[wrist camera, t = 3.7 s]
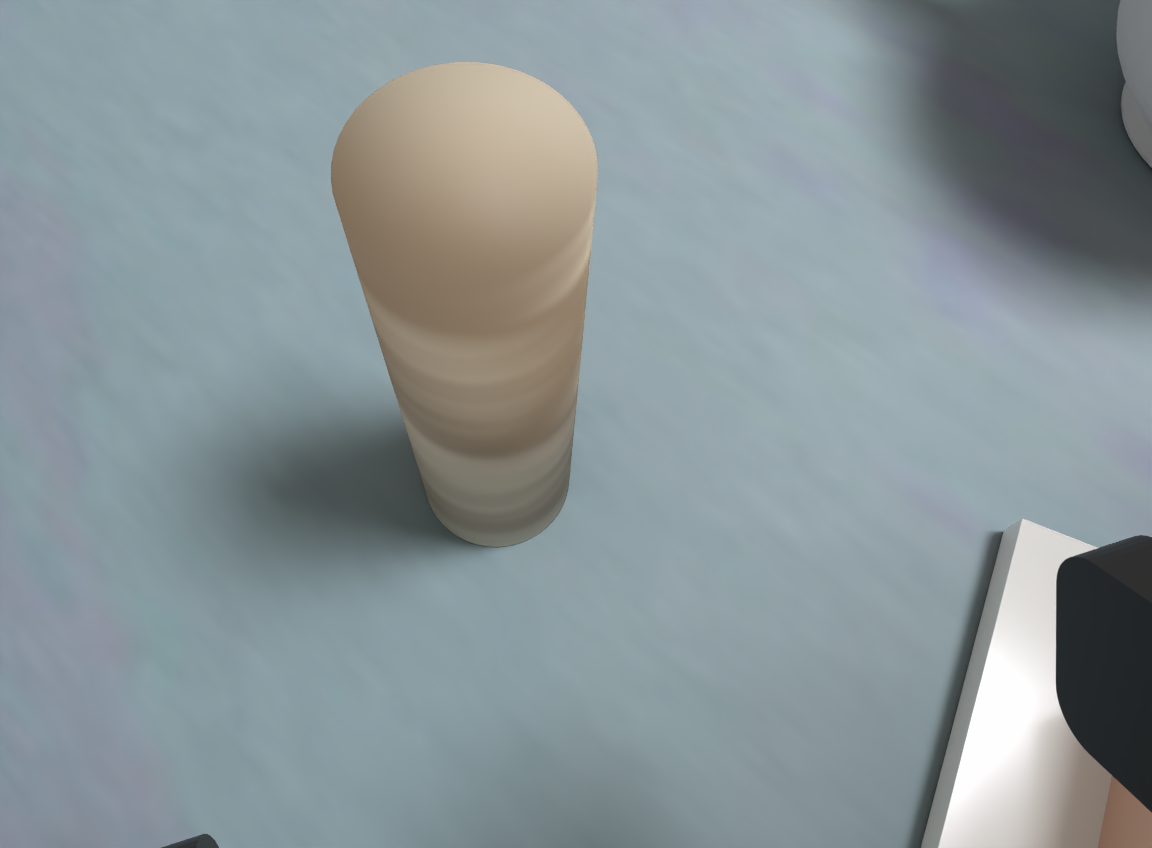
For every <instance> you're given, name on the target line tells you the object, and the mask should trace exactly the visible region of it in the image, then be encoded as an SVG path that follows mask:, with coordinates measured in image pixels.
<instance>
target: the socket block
mask: <svg viewBox="0 0 1152 848" xmlns="http://www.w3.org/2000/svg"><path fill="white" fill-rule="evenodd" d="M1094 549H1097V547H1095V546H1092V545H1089V544H1087V543H1084V542H1082V541H1079V540H1077V539H1074V538H1071V537H1069V536H1066V535H1064V534H1061V533H1059V532H1056V531H1054V530H1051V529H1048V528H1046V527H1043V526H1041V525H1038V524H1036V523H1033V522H1030V521H1028V520H1025V519H1023V518H1022V519H1021V520H1019V521H1018V522H1016V523H1015V524H1013V525H1012V526H1010V527H1009V528H1007V529H1006V530H1004V532H1003V536H1002V540H1001V543H1000V547H999V551H998V555H997V559H996V563H995V566H994V570H993V574H992V578H991V582H990V585H989V589H988V593H987V597H986V601H985V605H984V608H983V612H982V616H981V620H980V624H979V627H978V631H977V635H976V639H975V643H974V647H973V650H972V654H971V658H970V662H969V666H968V670H967V673H966V677H965V681H964V685H963V689H962V692H961V696H960V700H959V704H958V708H957V712H956V715H955V719H954V723H953V727H952V731H951V734H950V738H949V742H948V746H947V750H946V754H945V757H944V761H943V765H942V769H941V773H940V777H939V780H938V784H937V788H936V792H935V796H934V799H933V803H932V807H931V811H930V815H929V819H928V822H927V826H926V830H925V834H924V838H923V841H922V845H921V848H1152V812H1150V811H1149V810H1148V809H1147V808H1146V807H1145V806H1144V805H1143V804H1142V803H1141V802H1140V801H1139V800H1138V799H1137V798H1136V797H1134V796H1133V795H1132V794H1131V793H1130V792H1129V791H1128V790H1127V789H1126V788H1125V787H1124V786H1123V785H1122V784H1121V783H1120V782H1118V781H1117V780H1116V779H1115V778H1114V777H1113V776H1112V775H1111V774H1110V773H1109V772H1108V771H1107V770H1106V769H1105V768H1103V767H1102V766H1101V765H1100V764H1099V763H1098V762H1097V761H1096V760H1095V759H1094V758H1093V757H1092V756H1091V755H1090V754H1089V753H1088V752H1087V751H1086V750H1085V749H1084V748H1083V747H1082V746H1081V744H1080V743H1079V742H1078V741H1077V739H1076V738H1075V736H1074V735H1073V733H1072V732H1071V730H1070V728H1069V726H1068V725H1067V722H1066V720H1065V718H1064V716H1063V714H1062V711H1061V708H1060V705H1059V702H1058V698H1057V692H1056V579H1057V573H1058V569H1059V567H1060V565H1061V563H1062V562H1063V561H1064V560H1066V559H1067V558H1069V557H1072V556H1075V555H1078V554H1082V553H1085V552H1088V551H1091V550H1094Z"/></svg>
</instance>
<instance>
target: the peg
mask: <svg viewBox="0 0 1152 848" xmlns="http://www.w3.org/2000/svg"><path fill="white" fill-rule="evenodd" d="M597 178H598V164H597V155H596V151H595V147H594V143H593V140H592V138H591V135H590V133H589V130H588V128H587V127H586V125H585V123H584V121H583V120H582V118H581V116H580V115H579V114H578V113H577V111H576V110H575V109H574V108H573V106H572V105H571V104H570V103H569V102H568V101H567V100H566V99H565V98H564V97H562V96H561V95H560V94H559V93H558V92H556V91H555V90H554V89H552V88H551V87H550V86H548V85H547V84H545V83H543V82H541V81H540V80H538V79H536V78H534V77H532V76H530V75H527V74H525V73H523V72H520V71H517V70H514V69H511V68H507V67H504V66H499V65H494V64H488V63H477V62H453V63H445V64H438V65H433V66H429V67H425V68H421V69H418V70H415V71H412V72H410V73H407V74H404V75H402V76H400V77H398V78H396V79H394V80H392V81H390V82H389V83H387V84H385V85H384V86H382V87H381V88H379V89H378V90H376V91H375V92H374V93H373V94H371V95H370V96H369V97H368V98H367V99H365V100H364V101H363V102H362V104H361V105H360V106H359V107H358V108H357V109H356V110H355V111H354V112H353V114H352V115H351V116H350V118H349V119H348V121H347V122H346V124H345V126H344V127H343V129H342V131H341V133H340V135H339V137H338V140H337V143H336V146H335V148H334V153H333V158H332V163H331V183H332V191H333V196H334V199H335V202H336V206H337V209H338V212H339V215H340V219H341V222H342V225H343V228H344V231H345V235H346V238H347V241H348V244H349V247H350V251H351V254H352V257H353V260H354V263H355V267H356V270H357V273H358V276H359V280H360V283H361V286H362V289H363V292H364V296H365V299H366V302H367V305H368V308H369V312H370V315H371V318H372V321H373V324H374V328H375V331H376V334H377V337H378V340H379V344H380V347H381V350H382V353H383V356H384V360H385V363H386V366H387V369H388V372H389V376H390V379H391V382H392V385H393V388H394V392H395V395H396V398H397V401H398V404H399V408H400V411H401V414H402V417H403V420H404V424H405V427H406V430H407V433H408V436H409V440H410V443H411V446H412V449H413V452H414V456H415V459H416V462H417V465H418V468H419V472H420V475H421V478H422V481H423V484H424V488H425V491H426V494H427V497H428V500H429V503H430V505H431V508H432V510H433V512H434V513H435V515H436V516H437V518H438V519H439V520H440V522H441V523H442V524H443V525H444V526H445V527H446V528H447V529H448V530H449V531H450V532H452V533H453V534H455V535H456V536H458V537H460V538H462V539H464V540H466V541H468V542H471V543H474V544H477V545H482V546H488V547H505V546H510V545H515V544H518V543H522V542H524V541H527V540H529V539H531V538H533V537H534V536H536V535H538V534H539V533H541V532H542V531H543V530H544V529H546V528H547V527H548V526H549V525H550V524H551V523H552V522H553V520H554V519H555V518H556V516H557V515H558V514H559V512H560V510H561V508H562V506H563V505H564V502H565V499H566V496H567V492H568V487H569V477H570V466H571V456H572V445H573V435H574V424H575V413H576V403H577V392H578V381H579V371H580V360H581V350H582V339H583V328H584V318H585V307H586V296H587V286H588V275H589V265H590V254H591V243H592V233H593V222H594V211H595V201H596V190H597Z"/></svg>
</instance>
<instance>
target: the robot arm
mask: <svg viewBox="0 0 1152 848" xmlns="http://www.w3.org/2000/svg"><path fill="white" fill-rule="evenodd" d="M1056 692H1057V698H1058V702H1059V705H1060V708H1061V711H1062V714H1063V716H1064V718H1065V720H1066V722H1067V725H1068V726H1069V728H1070V730H1071V732H1072V733H1073V735H1074V736H1075V738H1076V739H1077V741H1078V742H1079V743H1080V744H1081V746H1082V747H1083V748H1084V749H1085V750H1086V751H1087V752H1088V753H1089V754H1090V755H1091V756H1092V757H1093V758H1094V759H1095V760H1096V761H1097V762H1098V763H1099V764H1100V765H1101V766H1102V767H1103V768H1105V769H1106V770H1107V771H1108V772H1109V773H1110V774H1111V775H1112V776H1113V777H1114V778H1115V779H1116V780H1117V781H1118V782H1120V783H1121V784H1122V785H1123V786H1124V787H1125V788H1126V789H1127V790H1128V791H1129V792H1130V793H1131V794H1132V795H1133V796H1134V797H1136V798H1137V799H1138V800H1139V801H1140V802H1141V803H1142V804H1143V805H1144V806H1145V807H1146V808H1147V809H1148V810H1149V811H1150V812H1152V537H1149V536H1142V535H1140V536H1134V537H1131V538H1128V539H1125V540H1122V541H1119V542H1116V543H1112V544H1109V545H1106V546H1103V547H1100V548H1097V549H1094V550H1091V551H1088V552H1085V553H1082V554H1078V555H1075V556H1072V557H1069V558H1067V559H1066V560H1064V561H1063V562H1062V563H1061V565H1060V567H1059V569H1058V573H1057V579H1056ZM162 848H219V847H218V845H217V843H216V842H215V840H214V839H213V838H212V837H211V836H210V835H208V834H202V835H199V836H196V837H193V838H190V839H187V840H184V841H181V842H178V843H174V844H171V845H168V846H165V847H162Z"/></svg>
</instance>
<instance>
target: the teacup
mask: <svg viewBox="0 0 1152 848" xmlns="http://www.w3.org/2000/svg"><path fill="white" fill-rule="evenodd" d="M1116 38H1117V50H1118V56H1119V60H1120V64H1121V68H1122V72H1123V76H1124V78H1125V81H1126V83H1125V85H1124V88H1123V92H1122V97H1121V111H1122V118H1123V122H1124V126H1125V129H1126V131H1127V134H1128V136H1129V138H1130V140H1131V141H1132V143H1133V145H1134V147H1135V148H1136V150H1137V151H1138V152H1139V154H1140V155H1141V156H1142V158H1143V159H1144V160H1145V161H1146V162H1147V163H1148V164H1149V165H1150V166H1151V167H1152V0H1121V1H1120V4H1119V8H1118V18H1117V31H1116Z"/></svg>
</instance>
